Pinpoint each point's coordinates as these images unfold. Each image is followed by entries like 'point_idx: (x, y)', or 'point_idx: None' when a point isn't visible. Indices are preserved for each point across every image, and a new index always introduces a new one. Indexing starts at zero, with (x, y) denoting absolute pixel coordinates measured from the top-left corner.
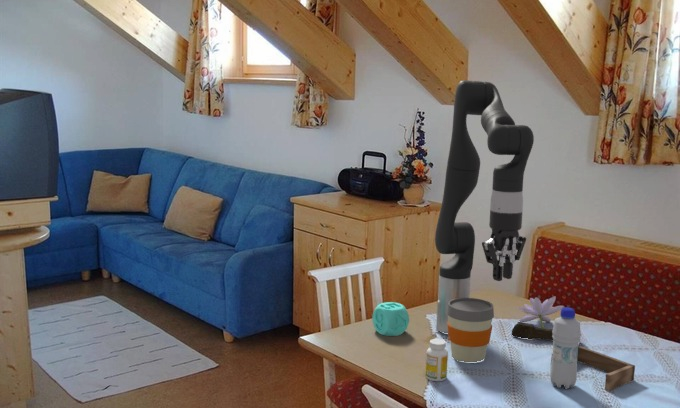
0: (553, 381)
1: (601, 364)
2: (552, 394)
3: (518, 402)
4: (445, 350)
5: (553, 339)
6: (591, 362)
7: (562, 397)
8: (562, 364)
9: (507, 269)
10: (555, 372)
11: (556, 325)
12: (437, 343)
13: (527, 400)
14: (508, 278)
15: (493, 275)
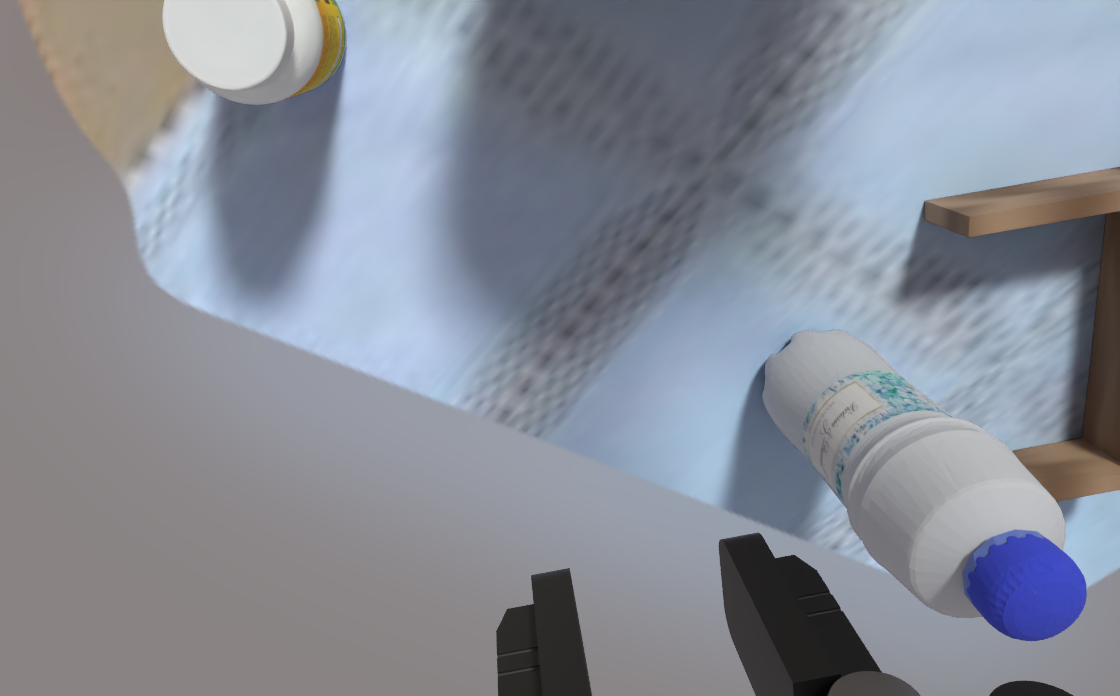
0: (765, 380)
1: (1115, 326)
2: (695, 423)
3: (508, 427)
4: (286, 73)
5: (862, 453)
6: (1115, 272)
7: (710, 458)
8: (808, 459)
9: (763, 684)
10: (779, 411)
11: (898, 531)
12: (204, 60)
13: (557, 427)
14: (726, 616)
15: (500, 648)
